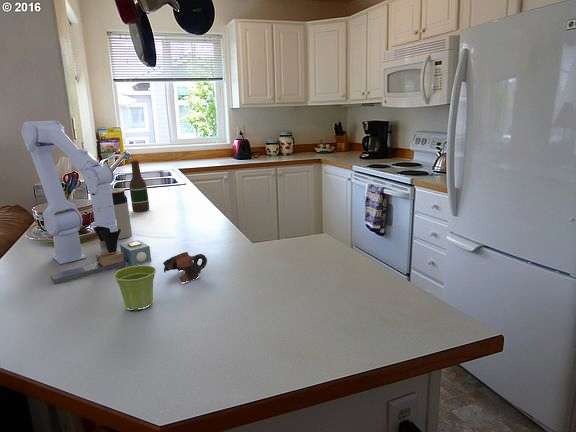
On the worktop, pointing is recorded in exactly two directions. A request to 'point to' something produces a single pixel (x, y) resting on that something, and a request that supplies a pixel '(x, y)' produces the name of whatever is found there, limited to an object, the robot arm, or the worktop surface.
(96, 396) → the worktop surface
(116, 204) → the travel mug
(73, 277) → the rail
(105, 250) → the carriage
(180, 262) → the pottery mug
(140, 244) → the button
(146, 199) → the beer bottle
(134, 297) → the plant pot
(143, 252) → the blue grey control box
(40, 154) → the robot arm
